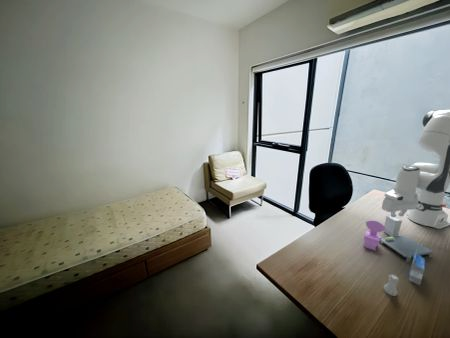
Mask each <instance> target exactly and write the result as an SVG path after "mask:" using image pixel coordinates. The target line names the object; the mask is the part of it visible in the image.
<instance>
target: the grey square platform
mask: <svg viewBox="0 0 450 338" xmlns="http://www.w3.org/2000/svg"><path fill="white" fill-rule="evenodd" d="M381 239H382V237H381V236H380V240H381ZM381 242H382V241H379V243H381ZM391 251H392V252H393V253H394V254H396V255H398V256H399V257H400V258H402V259H403V260H404V261H405V263H407V264H409V263H410V262H411V261H413V258H414V257H411V256H407V258H406V257H404V256H403V255H401V254H400V253H398V252H397V251H395V250H394V249H392V250H391ZM419 256H421V257H422V258H424V259H426V258H427V257H428V258H432V257H433V256H432V255H431V253H430V254H425V255H419Z"/></svg>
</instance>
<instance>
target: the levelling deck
mask: <svg viewBox="0 0 450 338" xmlns="http://www.w3.org/2000/svg"><path fill="white" fill-rule="evenodd" d="M380 241H381V242H382V243H383V244H385V245H386V246H387V247H389V248H391V249H392V250H393V249H394V250H395V251H397V252H398V253H400V254H401V255H403V256H404V257H406V258H407V256H411V257H414V254H415V251H416V250H417V252H416V254H418V255H425V254H430V255H431V254H433V253H434V251H433V250H431V249H430V248H428V247H426V246H424V245H422V244H421V243H419V242H418V241H415V240H413V239H412V238H410V237H408V236H407V235H405V234H404V235H403V234H402V235H398V236H396V237H391V236H387V237H385V238H381V240H380Z"/></svg>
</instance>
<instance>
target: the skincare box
mask: <svg viewBox="0 0 450 338" xmlns="http://www.w3.org/2000/svg"><path fill="white" fill-rule="evenodd" d="M402 223H403V221H402V219H399V218H397V217H391V215H387V216H385V222H384V224H383V226H384V227H385V230H383V231H382V232H384V233H386V234H387V235H389V237H396V236H400V231H401V226H402Z"/></svg>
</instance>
